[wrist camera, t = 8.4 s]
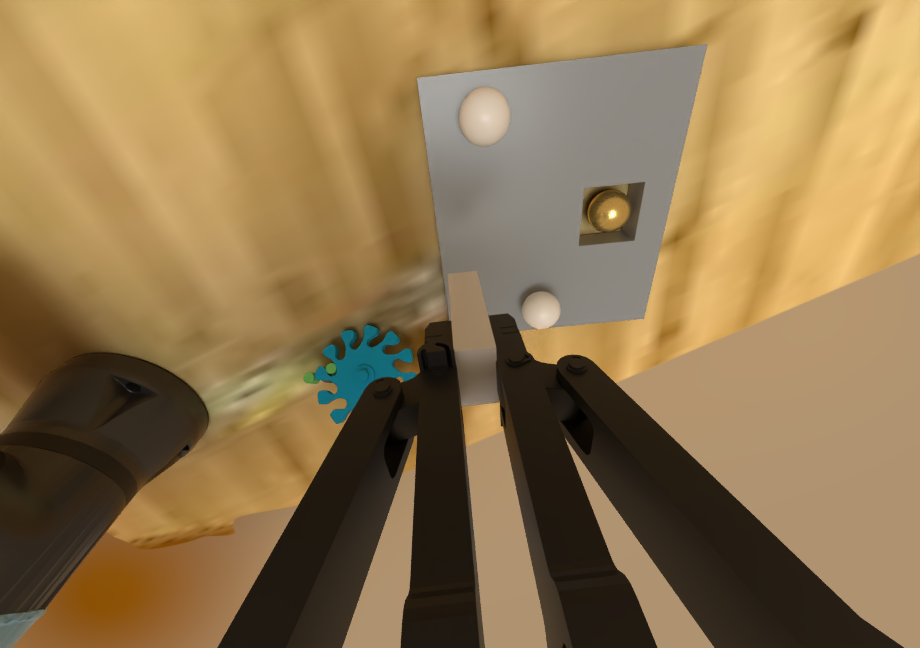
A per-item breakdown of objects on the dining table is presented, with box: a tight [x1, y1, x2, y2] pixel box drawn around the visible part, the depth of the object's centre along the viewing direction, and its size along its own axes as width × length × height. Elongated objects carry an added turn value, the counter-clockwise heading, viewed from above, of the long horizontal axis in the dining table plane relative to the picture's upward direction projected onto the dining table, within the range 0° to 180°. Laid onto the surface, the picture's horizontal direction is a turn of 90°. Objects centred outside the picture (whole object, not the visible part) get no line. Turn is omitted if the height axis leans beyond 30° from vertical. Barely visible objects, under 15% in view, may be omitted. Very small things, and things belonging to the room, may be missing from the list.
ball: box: [587, 190, 631, 232], centre depth 27 cm, size 3×3×3 cm
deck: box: [417, 44, 707, 330], centre depth 28 cm, size 18×20×2 cm
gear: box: [304, 325, 417, 424], centre depth 35 cm, size 11×6×10 cm
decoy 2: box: [459, 87, 511, 147], centre depth 21 cm, size 3×3×3 cm
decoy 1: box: [522, 291, 561, 329], centre depth 29 cm, size 3×3×3 cm
